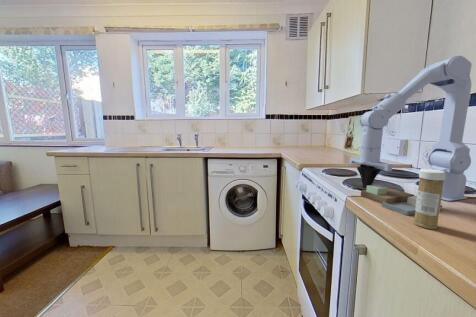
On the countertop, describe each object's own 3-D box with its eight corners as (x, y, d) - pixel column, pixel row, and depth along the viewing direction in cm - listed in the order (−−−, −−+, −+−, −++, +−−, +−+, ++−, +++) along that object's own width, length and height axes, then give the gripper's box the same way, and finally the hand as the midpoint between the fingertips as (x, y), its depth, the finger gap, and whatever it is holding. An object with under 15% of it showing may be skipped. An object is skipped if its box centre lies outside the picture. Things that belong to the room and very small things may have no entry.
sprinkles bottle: (440, 226, 53) (448, 170, 51) (433, 231, 51) (442, 173, 49) (416, 219, 57) (424, 167, 55) (409, 224, 54) (416, 169, 52)
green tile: (375, 190, 75) (375, 184, 75) (386, 193, 72) (387, 187, 71) (366, 191, 74) (366, 185, 74) (377, 195, 70) (377, 188, 70)
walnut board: (386, 192, 79) (387, 187, 79) (413, 201, 71) (414, 194, 71) (360, 195, 76) (361, 190, 75) (385, 205, 67) (386, 198, 67)
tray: (414, 201, 71) (415, 197, 71) (441, 209, 64) (442, 205, 64) (381, 206, 66) (382, 202, 66) (406, 215, 60) (407, 211, 59)
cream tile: (416, 202, 69) (417, 195, 69) (430, 206, 65) (431, 200, 65) (407, 203, 68) (407, 197, 67) (421, 208, 64) (422, 201, 64)
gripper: (344, 146, 80) (341, 183, 82) (382, 150, 66) (377, 195, 68) (359, 145, 82) (356, 181, 84) (399, 150, 68) (394, 193, 70)
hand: (366, 187), depth 76 cm, fingers closed
